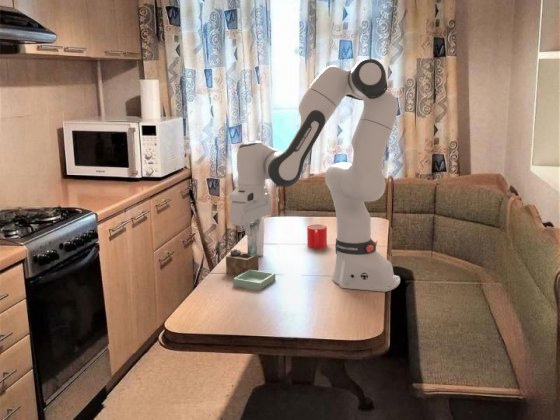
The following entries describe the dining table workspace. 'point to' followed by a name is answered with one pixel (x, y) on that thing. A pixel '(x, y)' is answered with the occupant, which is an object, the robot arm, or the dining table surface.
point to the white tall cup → (260, 238)
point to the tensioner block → (240, 262)
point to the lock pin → (252, 240)
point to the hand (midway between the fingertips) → (252, 233)
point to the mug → (317, 236)
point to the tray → (254, 279)
